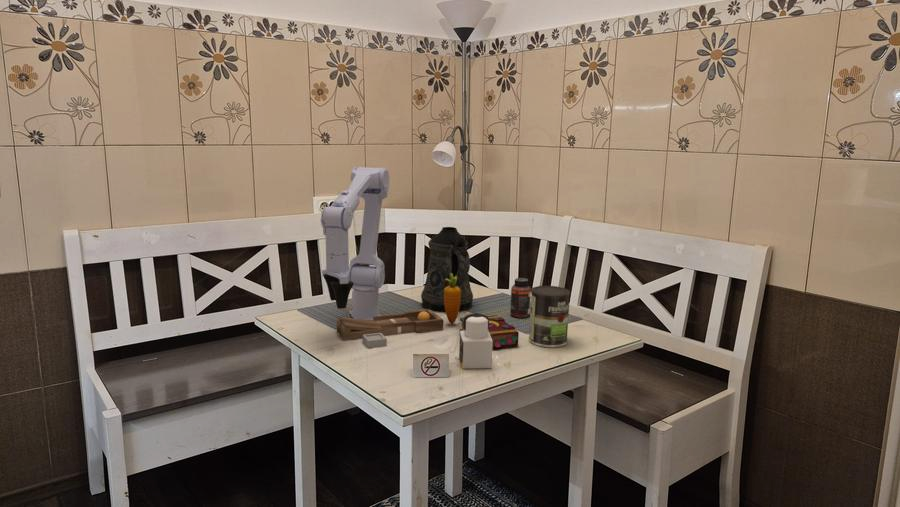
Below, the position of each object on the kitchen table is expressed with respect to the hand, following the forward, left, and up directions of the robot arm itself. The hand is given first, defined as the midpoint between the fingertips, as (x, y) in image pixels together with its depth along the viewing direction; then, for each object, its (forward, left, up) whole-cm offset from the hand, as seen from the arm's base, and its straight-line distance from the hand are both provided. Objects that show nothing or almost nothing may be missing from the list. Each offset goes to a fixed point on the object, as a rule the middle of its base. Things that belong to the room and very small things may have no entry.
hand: (338, 303), depth 159 cm
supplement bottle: (-2, +56, -10) cm, 57 cm away
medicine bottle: (+27, +27, -10) cm, 39 cm away
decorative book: (+14, +38, -10) cm, 41 cm away
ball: (-4, +26, -8) cm, 27 cm away
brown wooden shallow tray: (-3, +15, -10) cm, 18 cm away
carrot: (-1, +33, -10) cm, 35 cm away
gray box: (+6, +8, -10) cm, 14 cm away
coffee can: (+20, +52, -10) cm, 57 cm away
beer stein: (-18, +40, -10) cm, 45 cm away
